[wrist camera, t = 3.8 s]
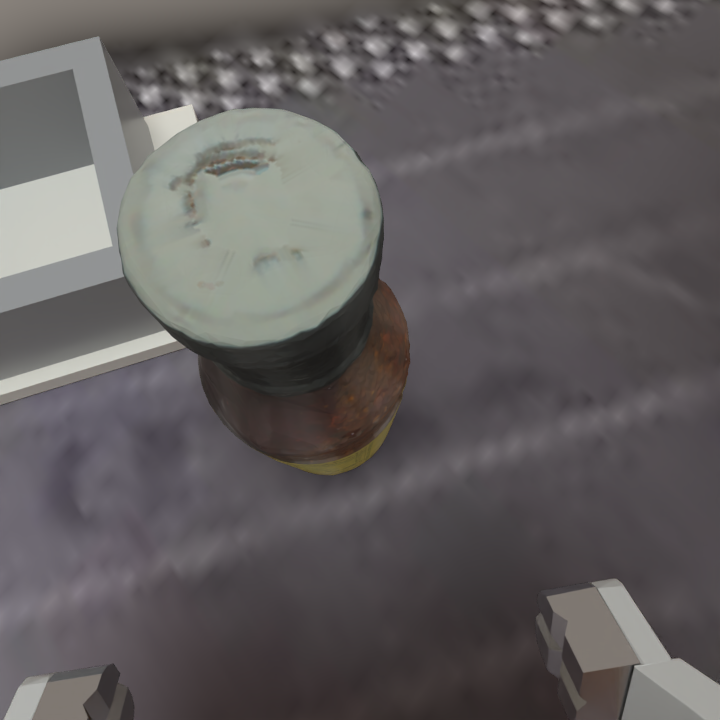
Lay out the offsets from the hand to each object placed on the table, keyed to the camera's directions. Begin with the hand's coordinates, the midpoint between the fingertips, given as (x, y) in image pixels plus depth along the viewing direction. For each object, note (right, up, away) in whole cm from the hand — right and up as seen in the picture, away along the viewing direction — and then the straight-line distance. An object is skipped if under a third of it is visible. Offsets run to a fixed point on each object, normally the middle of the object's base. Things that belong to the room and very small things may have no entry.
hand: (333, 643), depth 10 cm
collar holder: (-16, +11, +19) cm, 27 cm away
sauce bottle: (-1, +2, +17) cm, 17 cm away
